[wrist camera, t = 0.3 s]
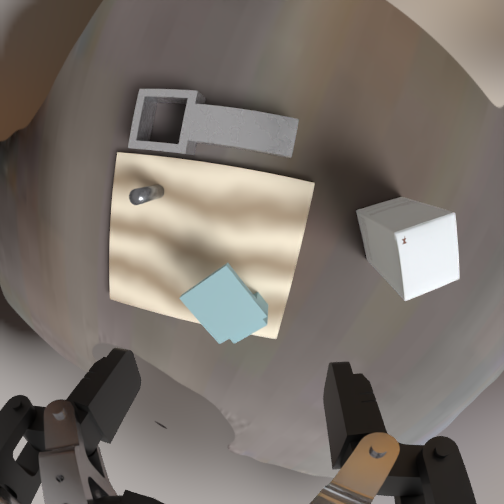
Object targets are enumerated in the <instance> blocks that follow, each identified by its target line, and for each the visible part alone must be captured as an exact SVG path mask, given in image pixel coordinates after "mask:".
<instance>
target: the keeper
mask: <svg viewBox="0 0 504 504" xmlns="http://www.w3.org/2000/svg"><path fill="white" fill-rule="evenodd" d="M179 299H180V300H181V301H182V302H183V303H184V305H185V306H186V307H187V308H188V309H189V310H190V312H191V313H192V314H193V315H194V316H195V317H196V318H197V320H198V321H199V322H200V323H201V324H202V325H203V326H204V327H205V329H206V330H207V331H208V332H209V333H210V334H211V335H212V336H213V337H214V339H215V340H216V341H217V342H218V343H219V344H220V343H222V342H224V341H226V340H227V339H230V340H231V341H232V342H233V343H236V342H238V341H240V340H242V339H243V338H245V337H247V336H249V335H251V334H252V333H254V332H256V331H258V330H259V329H261V328H263V327H265V326H266V325H267V322H268V304H267V302H266V301H265V300H264V299H263V297H262V296H261V295H260V294H259V292H256V293H255V294H252V292H251V291H250V290H249V289H248V287H247V286H246V285H245V284H244V282H243V281H242V280H241V278H240V277H239V276H238V275H237V273H236V272H235V271H234V270H233V268H232V267H231V266H230V264H229V263H226V264H225V265H223V266H222V267H221V268H219V269H218V270H216V271H215V272H213V273H212V274H210V275H209V276H208V277H206V278H205V279H203V280H202V281H200V282H199V283H198V284H196V285H195V286H193V287H192V288H190V289H189V290H187V291H186V292H185V293H183V294H182V295H181V296H180V298H179Z"/></svg>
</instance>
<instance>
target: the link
mask: <svg viewBox="0 0 504 504" xmlns="http://www.w3.org/2000/svg"><path fill="white" fill-rule="evenodd" d="M205 100H206V98H205V97H204V96H203V95H202V94H201V93H200V92H199V91H194V90H176V89H139V93H138V98H137V102H136V107H135V111H134V116H133V122H132V127H131V133H130V138H129V144H128V148H134V149H146V150H156V151H165V152H174V153H182V154H190V155H195V151H196V146H197V143H202V144H209V145H216V146H223V147H230V148H236V149H242V150H248V151H254V152H259V153H265V154H270V155H275V156H280V157H285V158H289V159H290V158H291V157H292V152H293V147H294V142H295V137H296V132H297V127H298V122H299V119H295V118H291V117H286V116H281V115H275V114H270V113H264V112H258V111H252V110H246V109H239V108H232V107H224V106H215V105H205ZM157 103H177V104H186V109H185V113H184V118H183V123H182V129H181V134H180V139H179V144H171V143H161V142H150V138H151V132H152V127H153V121H154V116H155V111H156V107H157Z"/></svg>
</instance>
